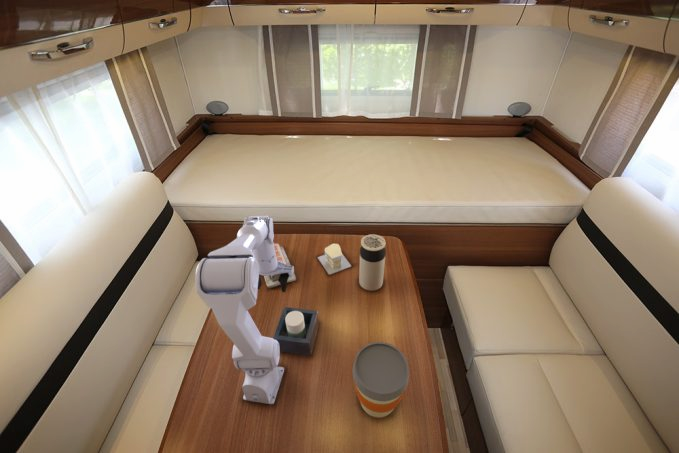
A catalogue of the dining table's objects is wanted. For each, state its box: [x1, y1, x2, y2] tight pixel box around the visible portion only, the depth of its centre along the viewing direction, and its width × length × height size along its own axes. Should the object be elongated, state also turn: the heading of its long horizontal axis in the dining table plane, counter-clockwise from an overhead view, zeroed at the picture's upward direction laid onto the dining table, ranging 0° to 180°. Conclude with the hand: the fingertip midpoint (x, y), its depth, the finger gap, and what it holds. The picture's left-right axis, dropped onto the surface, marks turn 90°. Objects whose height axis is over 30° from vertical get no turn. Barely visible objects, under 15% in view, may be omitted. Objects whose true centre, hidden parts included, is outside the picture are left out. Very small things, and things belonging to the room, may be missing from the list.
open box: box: [272, 306, 320, 357], centre depth 94 cm, size 11×10×6 cm
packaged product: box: [263, 242, 297, 289], centre depth 117 cm, size 18×5×10 cm
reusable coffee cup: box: [352, 341, 410, 418], centre depth 77 cm, size 13×13×15 cm
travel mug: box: [358, 233, 387, 292], centre depth 107 cm, size 8×8×18 cm
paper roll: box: [285, 311, 306, 339], centre depth 93 cm, size 9×5×5 cm
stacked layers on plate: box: [317, 243, 352, 276], centre depth 119 cm, size 10×9×6 cm
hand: (272, 288), depth 97 cm, fingers open, 7 cm apart
